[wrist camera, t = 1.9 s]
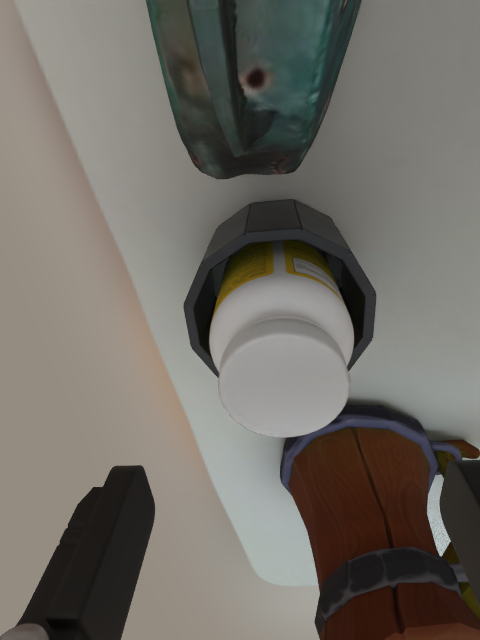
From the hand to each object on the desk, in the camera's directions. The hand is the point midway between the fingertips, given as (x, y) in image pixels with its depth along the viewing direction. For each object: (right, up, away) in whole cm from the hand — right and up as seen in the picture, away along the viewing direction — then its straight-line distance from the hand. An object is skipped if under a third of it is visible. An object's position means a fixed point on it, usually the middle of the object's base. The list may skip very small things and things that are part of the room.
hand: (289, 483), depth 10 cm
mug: (+11, -5, +19) cm, 23 cm away
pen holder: (+1, +7, +13) cm, 15 cm away
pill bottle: (+1, +7, +13) cm, 15 cm away
